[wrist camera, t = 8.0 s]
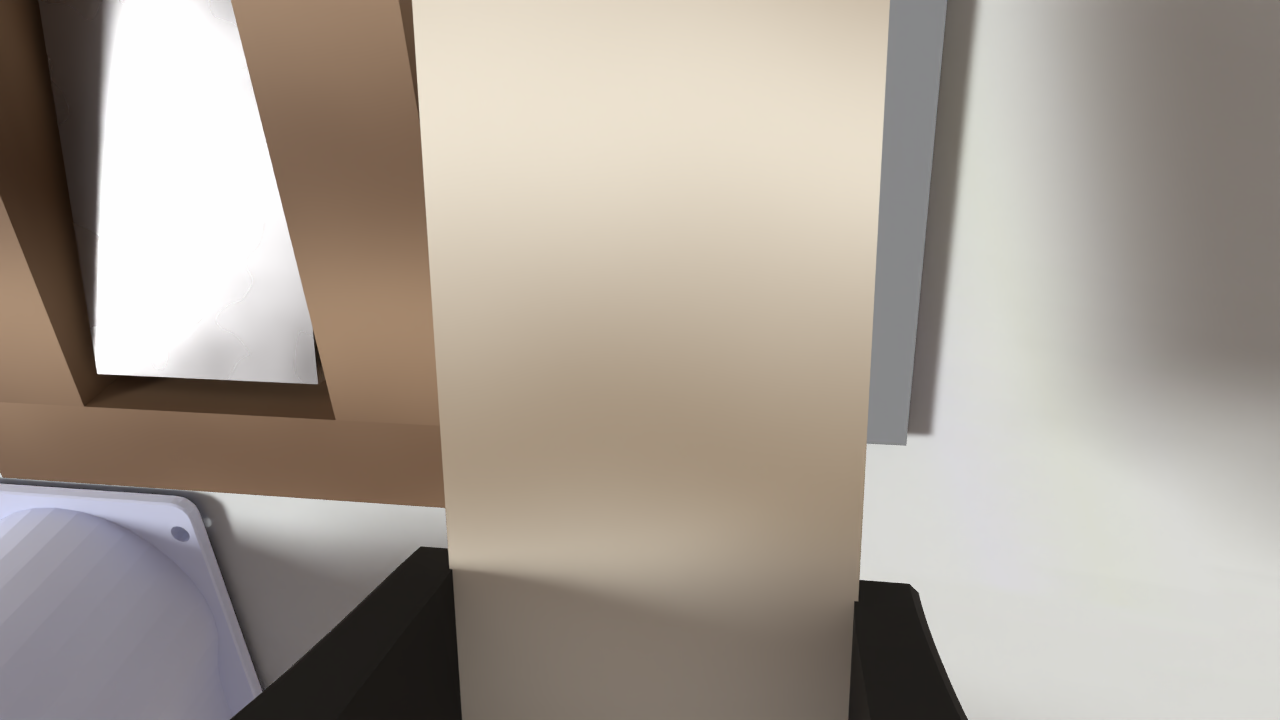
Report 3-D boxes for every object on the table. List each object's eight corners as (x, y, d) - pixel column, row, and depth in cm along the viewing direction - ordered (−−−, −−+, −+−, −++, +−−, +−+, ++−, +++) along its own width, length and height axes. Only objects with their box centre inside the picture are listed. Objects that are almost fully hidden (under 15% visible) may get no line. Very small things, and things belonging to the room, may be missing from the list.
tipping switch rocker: (34, -126, 18) (17, -130, 18) (278, -138, 18) (266, -143, 17) (111, 368, 21) (97, 373, 21) (327, 378, 20) (318, 384, 20)
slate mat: (905, 432, 22) (905, 445, 22) (582, 415, 23) (577, 428, 23) (976, -352, 15) (979, -354, 15) (507, -314, 16) (498, -316, 16)
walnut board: (-155, -314, 18) (-373, -329, 15) (434, -369, 16) (331, -399, 13) (109, 385, 25) (2, 477, 22) (534, 406, 23) (485, 510, 20)
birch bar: (477, -39, 12) (407, -62, 10) (883, -52, 11) (894, -81, 9) (512, 660, 14) (461, 752, 12) (846, 692, 13) (848, 797, 11)
